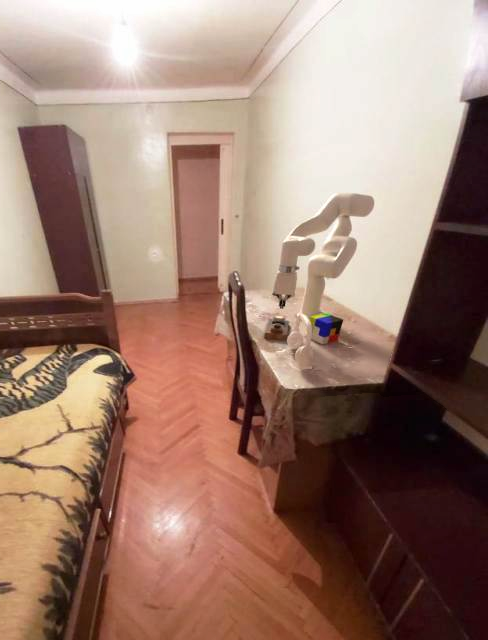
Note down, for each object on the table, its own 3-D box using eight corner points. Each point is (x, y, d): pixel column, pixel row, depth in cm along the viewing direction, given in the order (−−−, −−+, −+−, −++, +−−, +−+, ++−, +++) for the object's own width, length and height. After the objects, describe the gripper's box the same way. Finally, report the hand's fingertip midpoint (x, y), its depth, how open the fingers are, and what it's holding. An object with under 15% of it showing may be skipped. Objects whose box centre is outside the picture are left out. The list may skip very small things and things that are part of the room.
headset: (284, 348, 141) (291, 308, 131) (300, 348, 141) (308, 308, 131) (294, 369, 124) (303, 326, 114) (312, 370, 124) (323, 326, 114)
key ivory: (282, 319, 161) (282, 316, 160) (281, 321, 158) (282, 318, 157) (275, 319, 162) (276, 315, 161) (275, 321, 159) (275, 317, 158)
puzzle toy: (322, 344, 144) (327, 323, 138) (306, 336, 151) (310, 316, 146) (337, 340, 148) (343, 319, 142) (321, 333, 155) (326, 313, 150)
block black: (288, 324, 165) (289, 317, 163) (287, 331, 157) (288, 324, 155) (268, 322, 167) (269, 315, 165) (266, 329, 159) (268, 321, 157)
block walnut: (287, 332, 156) (288, 324, 153) (285, 340, 148) (287, 331, 145) (266, 330, 158) (267, 321, 156) (264, 338, 150) (265, 329, 148)
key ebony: (280, 326, 151) (280, 323, 151) (280, 328, 149) (280, 325, 148) (274, 326, 152) (274, 322, 151) (274, 328, 150) (274, 325, 149)
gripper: (304, 267, 147) (297, 306, 158) (271, 266, 151) (267, 304, 162) (304, 271, 142) (297, 311, 152) (270, 270, 145) (265, 309, 156)
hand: (281, 307), depth 157 cm, fingers closed
